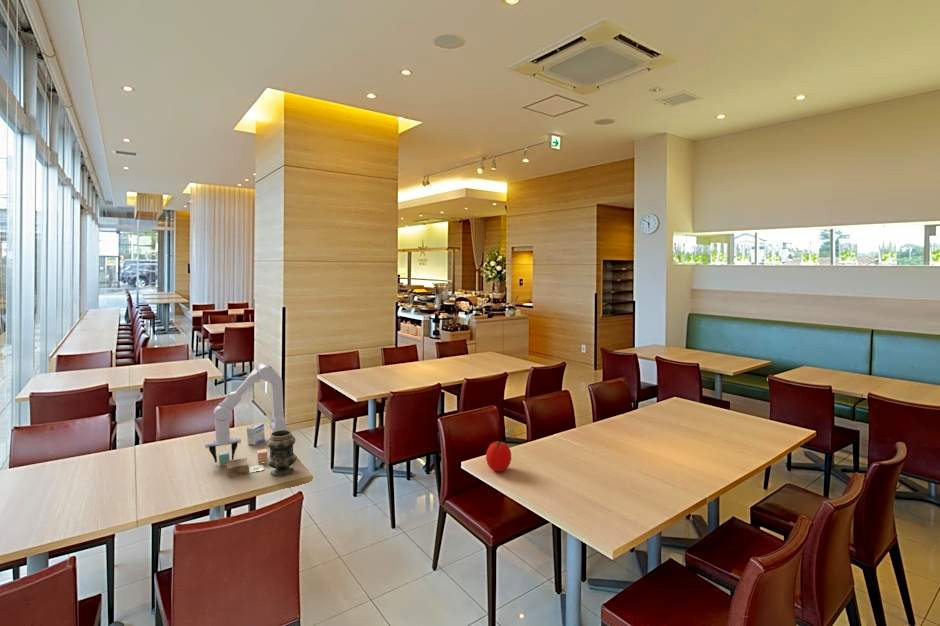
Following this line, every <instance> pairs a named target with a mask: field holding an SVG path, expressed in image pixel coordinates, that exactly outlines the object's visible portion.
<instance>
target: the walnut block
mask: <svg viewBox="0 0 940 626" xmlns="http://www.w3.org/2000/svg"><path fill="white" fill-rule="evenodd" d="M226 472H227V473H226V477H227V476H231V477H235V476H234V475H236V476H241V475H240V474H242V475H247V474H246V473H248V474H249V466H248V458H247V457H245V458H238V459H234V460H232V459H230V461H227V465H226Z"/></svg>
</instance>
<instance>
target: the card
mask: <svg viewBox="0 0 940 626" xmlns="http://www.w3.org/2000/svg"><path fill="white" fill-rule="evenodd" d="M259 466H261V468H260V467H259ZM262 466H263V467H264V464H260V465H259V464H258V465H253V466H248V474H252V472H254V473H257V472H256V471H260V472H263V471H262V470H264V471H265V468H263V467H262ZM253 467H254V468H253Z"/></svg>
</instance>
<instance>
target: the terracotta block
mask: <svg viewBox="0 0 940 626" xmlns="http://www.w3.org/2000/svg"><path fill="white" fill-rule="evenodd" d="M267 459H268V449H267V448H263V449H257V464H258V463H260V464H263V463H262V462H266V463H267Z"/></svg>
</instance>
